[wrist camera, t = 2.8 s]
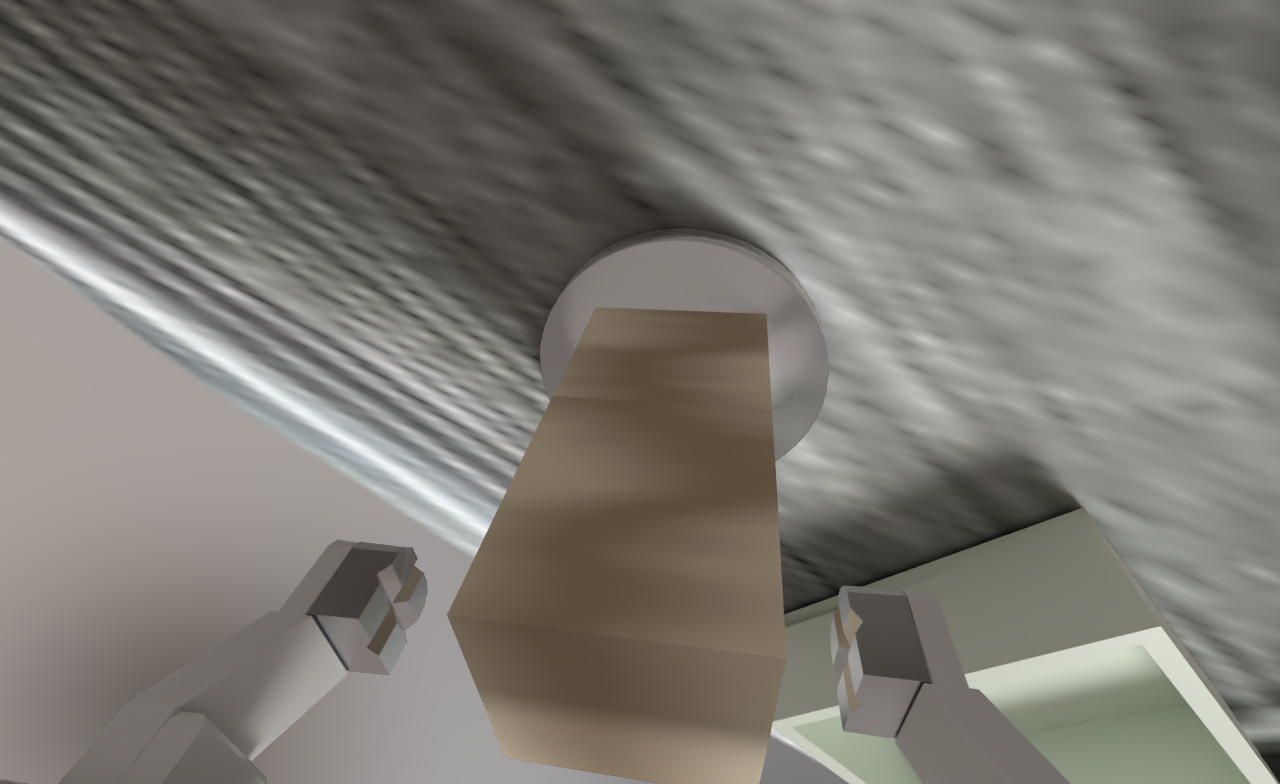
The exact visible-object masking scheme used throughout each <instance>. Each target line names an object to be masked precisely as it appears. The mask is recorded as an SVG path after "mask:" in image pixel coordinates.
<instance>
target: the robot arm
mask: <svg viewBox="0 0 1280 784" xmlns="http://www.w3.org/2000/svg"><path fill="white" fill-rule="evenodd" d="M417 559H418V558H417V556H416V554H415V552H414V550H413V548H411V547H402V546H393V545H384V544H375V543H366V542H356V541H346V540H336V541H335V542H333V543H332V544H330V545H329V546H328V547H327V548H326V549H325V551H324V552H323V553H322V555H321V556H320V557H319V559H318V560H317V561H316V563H315V564H314V565H313V567H312V568H311V569H310V571H309V572H308V573H307V575H306V576H305V577H304V579H303V580H302V581H301V583H300V584H299V585H298V587H297V588H296V589H295V591H294V592H293V593H292V595H291V596H290V597H289V599H288V600H287V601H286V603H285V604H284V605H283V607H282V608H281V609H280V611H279V612H276V611H271V612H270V613H268V614H266V615H265V616H263V617H262V618H260V619H258V620H257V621H255V622H254V623H252V624H251V625H249V626H247V627H246V628H244V629H243V630H241V631H240V632H238V633H236V634H235V635H233V636H232V637H230V638H229V639H227V640H225V641H224V642H222V643H221V644H219V645H217V646H216V647H214V648H213V649H211V650H210V651H208V652H206V653H205V654H203V655H201V656H200V657H198V658H197V659H195V660H194V661H192V662H191V663H189V664H187V665H186V666H184V667H183V668H181V669H180V670H178V671H176V672H175V673H173V674H171V675H170V676H168V677H167V678H165V679H164V680H162V681H160V682H159V683H157V684H156V685H154V686H152V687H151V688H150V689H148V690H146V691H145V692H143V693H141V694H140V695H138V696H137V697H135V698H134V699H132V700H130V701H129V702H128V703H127V704H126V706H125V707H124V708H123V709H122V710H121V712H120V713H119V714H118V715H117V716H116V717H115V719H114V720H113V721H112V722H111V723H110V724H109V725H108V726H107V728H106V729H105V730H104V731H103V732H102V733H101V735H100V736H99V737H98V738H97V739H96V740H95V741H94V743H93V744H92V745H91V746H90V747H89V748H88V749H87V751H86V752H85V753H84V754H83V755H82V756H81V758H80V759H79V760H78V761H77V762H76V764H74V766H73V767H72V768H71V769H70V770H69V771H68V773H67V774H66V775H65V776H64V777H63V778H62V779H61V781H60V782H59V783H58V784H267V777H266V776H265V775H264V774H263V773H262V772H261V771H260V770H259V769H258V768H257V767H256V766H255V765H254V764H253V763H252V762H251V761H252V760H253V759H254V758H255V757H256V756H257V755H258V754H259V753H260V752H262V751H263V750H264V749H265V748H266V747H267V746H268V745H269V744H270V743H272V742H273V741H274V740H275V739H276V738H277V737H278V736H279V735H281V734H282V733H283V732H284V731H285V730H286V729H287V728H288V727H290V726H291V725H292V724H293V723H294V722H295V721H296V720H297V719H298V718H300V716H302V715H303V714H304V713H305V712H306V711H307V710H308V709H310V708H311V707H312V706H313V705H314V704H315V703H316V702H317V701H318V700H320V699H321V698H322V697H323V696H324V695H325V694H326V693H327V692H328V691H330V690H331V689H332V688H333V687H334V686H335V685H336V684H337V683H338V682H340V681H341V680H342V679H343V678H344V677H345V676H346V675H347V674H348V672H347V671H351V672H362V673H374V674H384V675H390V673H391V671H392V669H393V667H394V666H395V663H396V662H397V660H398V658H399V656H400V654H401V652H402V650H403V648H404V646H405V644H406V636H405V630H406V629H407V628H409V627H410V626H411V625H413V624H414V623H415V622H416V621H418V619H419V617H420V615H421V612H422V610H423V608H424V605H425V601H426V597H427V592H428V591H427V580H426V578H425V576H424V573H423V572H421V571H420V570H419V569H418V568H417V567H415V566H414V564H415V562H416V561H417ZM838 603H839V610H837V611H835V612H834V613H833V617H832V622H831V632H830V645H831V655H832V663H833V667H834V668H835V669H836V670H837V672H838V673H839V674H840V675H841V679H840V682H839V686H838V689H837V696H838V702H839V709H840V715H841V721H842V728H843V731H845V732H852V733H858V734H865V735H872V736H878V737H885V738H892V739H896V740H895V743H896V744H897V746H898V747H899V749H900V750H901V751H902V753H903V754H904V756H905V757H906V759H907V760H908V762H909V763H910V765H911V766H912V767H913V769H914V770H915V772H916V773H917V775H918V776H919V778H920V779H921V781H922V782H923V783H924V784H1071V783H1070V782H1069V781H1068V780H1067V779H1066V778H1065V777H1064V776H1063V775H1062V774H1061V773H1060V772H1059V771H1058V770H1057V769H1056V768H1055V767H1054V766H1053V765H1052V764H1051V763H1050V762H1049V761H1048V760H1047V759H1046V758H1045V757H1044V756H1043V755H1042V754H1041V752H1040V751H1039V750H1038V749H1037V748H1036V747H1035V746H1034V745H1033V744H1032V743H1031V742H1030V741H1029V740H1028V739H1027V738H1026V737H1025V736H1024V735H1023V734H1022V733H1021V732H1020V731H1019V730H1018V729H1017V728H1016V727H1015V726H1014V725H1013V724H1012V723H1011V722H1010V721H1009V720H1008V719H1007V718H1006V717H1005V716H1004V715H1003V713H1002V712H1001V711H1000V710H999V709H998V708H997V707H996V706H995V705H994V704H993V703H992V702H991V701H990V700H989V699H988V698H987V697H986V696H985V695H984V694H983V693H982V692H981V691H980V690H979V689H972V688H969V686H968V683H967V680H966V677H965V674H964V671H963V668H962V666H961V663H960V660H959V657H958V654H957V651H956V648H955V646H954V643H953V640H952V637H951V634H950V631H949V628H948V626H947V623H946V620H945V617H944V614H943V611H942V608H941V606H940V603H939V600H938V599H937V597H936V596H935V595H934V594H932V593H925V592H911V591H901V590H898V589H884V588H871V587H857V586H844V585H843V586H842V587H841V588H840V591H839V594H838ZM0 784H27V783H21V782H16V781H9V780H4V779H0Z"/></svg>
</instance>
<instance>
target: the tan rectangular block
mask: <svg viewBox="0 0 1280 784" xmlns="http://www.w3.org/2000/svg"><path fill="white" fill-rule="evenodd" d="M447 615H448V618H449V621H450V623H451V625H452V628H453V630H454V633H455V635H456V638H457V640H458V642H459V645H460V648H461V650H462V653H463V655H464V657H465V660H466V662H467V665H468V667H469V670H470V672H471V674H472V677H473V680H474V682H475V684H476V687H477V689H478V692H479V694H480V697H481V699H482V701H483V704H484V707H485V709H486V711H487V714H488V716H489V719H490V721H491V724H492V726H493V728H494V731H495V733H496V736H497V738H498V741H499V743H500V746H501V748H502V750H503V753H504V756H505V758H509V759H515V760H521V761H527V762H533V763H539V764H545V765H551V766H557V767H563V768H569V769H575V770H581V771H587V772H593V773H599V774H606V775H611V776H617V777H623V778H629V779H635V780H641V781H647V782H653V783H659V784H759V783H760V778H761V773H762V769H763V764H764V759H765V755H766V750H767V746H768V741H769V737H770V732H771V728H772V723H773V719H774V714H775V709H776V705H777V700H778V696H779V691H780V686H781V682H782V677H783V673H784V668H785V664H786V659H787V657H786V640H785V622H784V605H783V588H782V571H781V554H780V537H779V520H778V503H777V485H776V468H775V451H774V434H773V417H772V400H771V383H770V366H769V349H768V331H767V314H756V313H731V312H706V311H681V310H656V309H631V308H606V307H595V309H594V311H593V314H592V316H591V318H590V320H589V322H588V324H587V326H586V328H585V330H584V332H583V334H582V336H581V338H580V341H579V343H578V345H577V347H576V349H575V351H574V353H573V355H572V357H571V359H570V361H569V363H568V365H567V367H566V370H565V372H564V374H563V376H562V378H561V380H560V382H559V384H558V386H557V388H556V390H555V392H554V394H553V397H552V399H551V401H550V403H549V405H548V407H547V409H546V411H545V413H544V415H543V417H542V419H541V421H540V423H539V426H538V428H537V430H536V432H535V434H534V436H533V438H532V440H531V442H530V444H529V446H528V448H527V450H526V452H525V455H524V457H523V459H522V461H521V463H520V465H519V467H518V469H517V471H516V473H515V475H514V477H513V479H512V482H511V484H510V486H509V488H508V490H507V492H506V494H505V496H504V498H503V500H502V502H501V504H500V506H499V508H498V511H497V513H496V515H495V517H494V519H493V521H492V523H491V525H490V527H489V529H488V531H487V533H486V535H485V538H484V540H483V542H482V544H481V546H480V548H479V550H478V552H477V554H476V556H475V558H474V560H473V562H472V564H471V567H470V569H469V571H468V573H467V575H466V577H465V579H464V581H463V583H462V585H461V587H460V590H459V591H458V594H457V596H456V598H455V600H454V602H453V604H452V606H451V608H450V610H449V613H448V614H447Z"/></svg>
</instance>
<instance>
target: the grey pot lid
mask: <svg viewBox="0 0 1280 784" xmlns="http://www.w3.org/2000/svg"><path fill="white" fill-rule="evenodd" d="M595 307H606V308H631V309H656V310H681V311H706V312H731V313H756V314H767V331H768V349H769V366H770V383H771V400H772V417H773V434H774V451H775V461H777V460H778V459H780V458H781V457H783V456H784V455H786V454H787V453H788V452H789V451H790V450H791V449H792V448H794V447H795V446H796V445H797V444H798V443H799V442H800V441H801V439H802V438H803V437H804V436H805V435H806V434H807V432H808V431H809V429H810V428H811V426H812V425H813V423H814V422H815V420H816V418H817V416H818V414H819V412H820V410H821V407H822V405H823V402H824V398H825V395H826V391H827V384H828V375H829V371H828V356H827V351H826V347H825V342H824V338H823V333H822V328H821V324H820V320H819V318H818V315H817V313H816V310H815V308H814V305H813V303H812V302H811V300H810V298H809V296H808V295H807V293H806V291H805V290H804V288H803V287H802V286H801V285H800V283H799V282H798V281H797V280H796V278H795V277H794V276H793V275H792V274H791V273H790V272H789V271H788V270H787V269H786V268H785V267H784V266H782V265H781V264H780V263H779V262H778V261H777V260H775V259H774V258H772V257H771V256H769V255H768V254H767V253H765V252H764V251H762V250H760V249H758V248H756V247H754V246H752V245H750V244H749V243H747V242H745V241H742V240H739V239H736V238H734V237H731V236H728V235H725V234H721V233H716V232H712V231H707V230H699V229H687V228H676V229H661V230H655V231H650V232H644V233H641V234H637V235H634V236H631V237H628V238H625V239H623V240H621V241H619V242H616V243H614V244H612V245H610V246H608V247H606V248H605V249H603V250H602V251H600V252H599V253H597V254H596V255H594V256H593V257H592V258H591V259H589V260H588V261H587V262H586V263H585V264H584V265H583V266H582V267H581V268H579V270H578V271H577V272H576V273H575V274H574V276H573V277H572V278H571V279H570V281H569V282H568V283H567V285H566V287H565V288H564V290H563V292H562V293H561V295H560V296H559V298H558V300H557V301H556V303H555V305H554V307H553V308H552V310H551V312H550V314H549V316H548V319H547V322H546V324H545V327H544V331H543V335H542V340H541V350H540V363H541V373H542V378H543V382H544V386H545V389H546V392H547V394H548V397H549V399H550V401H551V399H552V397H553V394H554V392H555V390H556V388H557V386H558V384H559V382H560V380H561V378H562V376H563V374H564V372H565V370H566V367H567V365H568V363H569V361H570V359H571V357H572V355H573V353H574V351H575V349H576V347H577V345H578V343H579V341H580V338H581V336H582V334H583V332H584V330H585V328H586V326H587V324H588V322H589V320H590V318H591V316H592V314H593V311H594V309H595Z"/></svg>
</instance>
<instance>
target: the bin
mask: <svg viewBox="0 0 1280 784" xmlns="http://www.w3.org/2000/svg"><path fill="white" fill-rule="evenodd" d="M863 587H871V588H884V589H898V590H901V591H911V592H925V593H932V594H934V595H935V596H936V597H937V599H938V600H939V603H940V606H941V608H942V611H943V614H944V617H945V620H946V623H947V626H948V628H949V631H950V634H951V637H952V640H953V643H954V646H955V648H956V651H957V654H958V657H959V660H960V663H961V666H962V668H963V671H964V674H965V677H966V680H967V683H968V686H969V688H972V689H979V690H980V691H981V692H982V693H983V694H984V695H985V696H986V697H987V698H988V699H989V700H990V701H991V702H992V703H993V704H994V705H995V706H996V707H997V708H998V709H999V710H1000V711H1001V712H1002V713H1003V715H1004V716H1005V717H1006V718H1007V719H1008V720H1009V721H1010V722H1011V723H1012V724H1013V725H1014V726H1015V727H1016V728H1017V729H1018V730H1019V731H1020V732H1021V733H1022V734H1023V735H1024V736H1025V737H1026V738H1027V739H1028V740H1029V741H1030V742H1031V743H1032V744H1033V745H1034V746H1035V747H1036V748H1037V749H1038V750H1039V751H1040V752H1041V754H1042V755H1043V756H1044V757H1045V758H1046V759H1047V760H1048V761H1049V762H1050V763H1051V764H1052V765H1053V766H1054V767H1055V768H1056V769H1057V770H1058V771H1059V772H1060V773H1061V774H1062V775H1063V776H1064V777H1065V778H1066V779H1067V780H1068V781H1069V782H1070V783H1071V784H1280V783H1279V782H1278V780H1277V779H1276V777H1275V776H1274V774H1273V773H1272V771H1271V770H1270V768H1269V767H1268V765H1267V764H1266V762H1265V761H1264V760H1263V758H1262V757H1261V755H1260V754H1259V752H1258V751H1257V749H1256V748H1255V746H1254V745H1253V743H1252V742H1251V740H1250V739H1249V737H1248V736H1247V734H1246V733H1245V731H1244V730H1243V728H1242V727H1241V725H1240V724H1239V722H1238V721H1237V719H1236V718H1235V716H1234V715H1233V713H1232V712H1231V710H1230V709H1229V707H1228V706H1227V704H1226V703H1225V701H1224V700H1223V698H1222V697H1221V696H1220V694H1219V693H1218V691H1217V690H1216V688H1215V687H1214V685H1213V684H1212V683H1211V681H1210V680H1209V679H1208V677H1207V676H1206V675H1205V673H1204V672H1203V670H1202V669H1201V668H1200V666H1199V665H1198V664H1197V662H1196V661H1195V659H1194V658H1193V657H1192V655H1191V654H1190V653H1189V651H1188V650H1187V649H1186V647H1185V646H1184V644H1183V643H1182V642H1181V640H1180V639H1179V638H1178V636H1177V635H1176V633H1175V632H1174V631H1173V629H1172V628H1171V627H1170V625H1169V624H1168V623H1167V621H1166V620H1165V618H1164V617H1163V616H1162V614H1161V613H1160V612H1159V610H1158V609H1157V608H1156V606H1155V605H1154V603H1153V602H1152V601H1151V599H1150V598H1149V597H1148V595H1147V594H1146V592H1145V591H1144V590H1143V588H1142V587H1141V586H1140V584H1139V583H1138V582H1137V580H1136V579H1135V577H1134V576H1133V575H1132V573H1131V572H1130V571H1129V569H1128V568H1127V566H1126V565H1125V564H1124V562H1123V561H1122V560H1121V558H1120V557H1119V556H1118V554H1117V553H1116V551H1115V550H1114V549H1113V547H1112V546H1111V545H1110V543H1109V542H1108V541H1107V539H1106V538H1105V536H1104V535H1103V534H1102V532H1101V531H1100V530H1099V528H1098V527H1097V525H1096V524H1095V523H1094V521H1093V520H1092V519H1091V517H1090V516H1089V515H1088V513H1087V512H1086V510H1085V509H1084V508H1081V509H1078V510H1075V511H1072V512H1069V513H1067V514H1064V515H1061V516H1058V517H1056V518H1053V519H1050V520H1047V521H1044V522H1042V523H1039V524H1036V525H1033V526H1030V527H1028V528H1025V529H1022V530H1019V531H1016V532H1014V533H1011V534H1008V535H1005V536H1002V537H1000V538H997V539H994V540H991V541H988V542H986V543H983V544H980V545H977V546H974V547H972V548H969V549H966V550H963V551H960V552H958V553H955V554H952V555H949V556H946V557H944V558H941V559H938V560H935V561H933V562H930V563H927V564H924V565H921V566H919V567H916V568H913V569H910V570H907V571H905V572H902V573H899V574H896V575H893V576H891V577H888V578H885V579H882V580H879V581H877V582H874V583H871V584H868V585H865V586H863ZM837 610H839V603H838V595H837V596H835V597H832V598H829V599H826V600H823V601H821V602H818V603H815V604H812V605H810V606H807V607H804V608H801V609H798V610H796V611H793V612H790V613H787V614H784V622H785V640H786V657H787V659H786V664H785V668H784V673H783V677H782V682H781V686H780V691H779V696H778V700H777V705H776V709H775V714H774V719H773V723H772V727H773V728H774V729H776V730H777V731H778V732H780V733H781V734H782V735H784V736H785V737H787V738H788V739H789V740H791V741H792V742H793V743H795V744H796V745H797V746H799V747H800V748H802V749H803V750H804V751H806V752H807V753H808V754H810V755H811V756H812V757H814V758H815V759H817V760H818V761H819V762H821V763H822V764H823V765H825V766H826V767H827V768H829V769H830V770H832V771H833V772H834V773H836V774H837V775H838V776H840V777H841V778H842V779H844V780H845V781H847V782H848V783H849V784H924V783H923V782H922V781H921V779H920V778H919V776H918V775H917V773H916V772H915V770H914V769H913V767H912V766H911V765H910V763H909V762H908V760H907V759H906V757H905V756H904V754H903V753H902V751H901V750H900V749H899V747H898V746H897V744H896V743H895V740H896V739H892V738H885V737H878V736H872V735H865V734H858V733H852V732H845V731H843V728H842V721H841V715H840V709H839V702H838V696H837V689H838V686H839V682H840V679H841V675H840V674H839V673H838V672H837V670H836V669H835V668H834V667H833V663H832V655H831V645H830V632H831V622H832V617H833V613H834V612H835V611H837Z"/></svg>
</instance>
